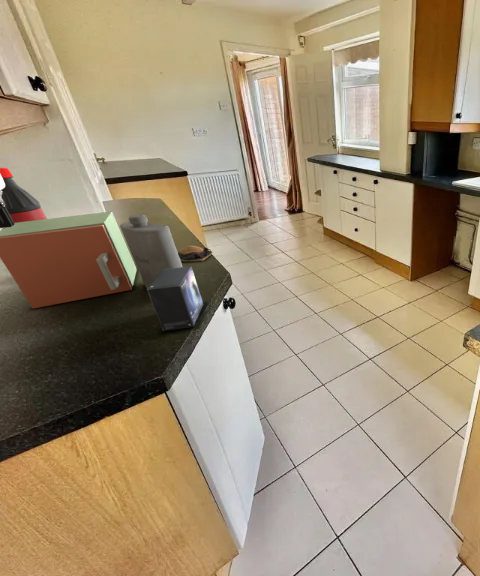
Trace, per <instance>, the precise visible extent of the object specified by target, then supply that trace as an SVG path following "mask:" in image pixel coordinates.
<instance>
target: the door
mask: <svg viewBox="0 0 480 576" xmlns="http://www.w3.org/2000/svg"><path fill="white" fill-rule="evenodd" d="M0 261H1V262H2V263H3V265H4V266H5V268H6V269H7V271H8V273H9V274H10V276H11V277H12V278H13V280H14V281H15V283H16V285H17V287H18V288H19V289H20V291H21V292H22V294H23V296H24V297H25V299H26V300H27V302H28V304H29V305H30V306H31V308H32V309H38V308H44V307H48V306H49V307H50V306H54V305H59V304H64V303H70V302H74V301H75V302H76V301H79V300H86V299H89V298H90V299H91V298H95V297H100V296H101V297H102V296H105V295H110V294H116V293H122V292H129V291H132V289H133V286H132V287H131V285H130V283H129V280H128V278H127V276H126V274H125V272H124V269H123V267H122V265H121V263H120V260H119V258H118V256H117V254H116V252H115V249H114V247H113V245H112V243H111V241H110V238H109V236H108V234H107V232H106V229H105V227H104V225H99V226H90V227H82V228H74V229H65V230H57V231H49V232H40V233H32V234H24V235H15V236H7V237H0Z"/></svg>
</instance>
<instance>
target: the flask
mask: <svg viewBox="0 0 480 576" xmlns="http://www.w3.org/2000/svg"><path fill="white" fill-rule="evenodd" d="M119 229H120V231H121V233H122V236H123V238H124V240H125V243H126V245H127V247H128V250H129V252H130V254H131V257H132V259H133V261H134V264H135V266H136V268H137V271H138V273H139V274H140V277H141V280H142V282H143V284H144V286H145V288H146V289H147V288H148V287H149V286H150V284H151V283H152V282H153V281H154V279H155V278H156V277H157V276H158V275H159V273H160V272H161V271H162V269H169V268H181V267H184V266H183V264H182V261H180V258H179V255H178V253H179V252H178V249H177V247H176V244H175V241H174V238H173V236H172V233H171V229H170V227H169V226H168V225H165V224H158V223H151V222H149V219H148V217H147V215H145V214H144V213H143V214H142V213H141V214H138V213H137V214H132V215H130V216H129V217H128V221H124V222H122V223H121V224H119Z"/></svg>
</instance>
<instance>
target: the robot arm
mask: <svg viewBox="0 0 480 576" xmlns="http://www.w3.org/2000/svg"><path fill="white" fill-rule="evenodd" d="M4 187H5V183H4V180H3V178H2V176H1V174H0V229H5V228H7V227H12V226H13V225H15V223H14V221H13V220H12V218H11V216H10V214H9V212H8V211H7V209H6V207H5V203H4V201H3V199H2V197H1V195H2V194H3V192H2V189H3V188H4Z"/></svg>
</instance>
